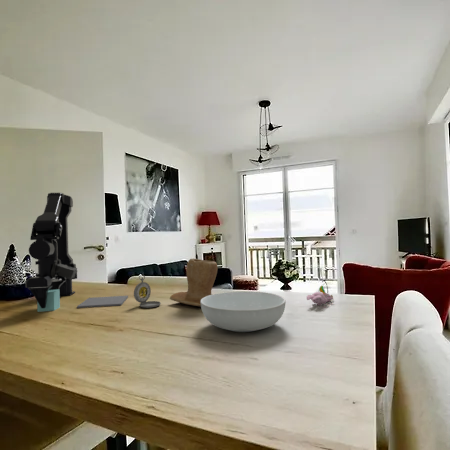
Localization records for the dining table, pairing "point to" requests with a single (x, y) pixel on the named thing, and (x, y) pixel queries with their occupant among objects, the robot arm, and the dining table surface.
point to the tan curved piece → (197, 282)
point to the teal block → (51, 301)
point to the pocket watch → (143, 290)
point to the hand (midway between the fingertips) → (48, 305)
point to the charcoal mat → (103, 301)
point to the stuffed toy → (320, 297)
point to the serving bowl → (243, 310)
